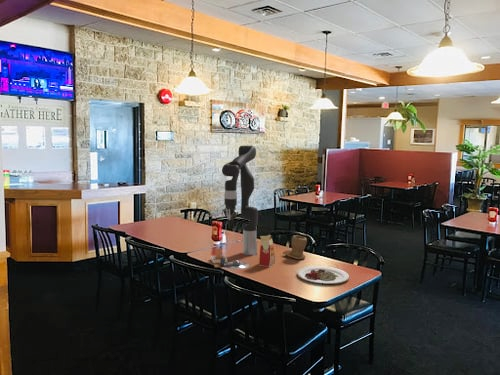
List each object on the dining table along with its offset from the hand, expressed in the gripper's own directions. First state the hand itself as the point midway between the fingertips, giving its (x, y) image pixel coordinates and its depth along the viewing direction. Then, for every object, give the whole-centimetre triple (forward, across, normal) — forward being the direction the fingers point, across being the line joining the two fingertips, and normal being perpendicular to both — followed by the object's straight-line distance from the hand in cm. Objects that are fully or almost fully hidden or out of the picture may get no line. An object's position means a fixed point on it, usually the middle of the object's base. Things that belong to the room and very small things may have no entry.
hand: (230, 225), depth 250 cm
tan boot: (+27, -9, -50) cm, 58 cm away
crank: (+26, +2, -2) cm, 27 cm away
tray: (+27, +15, -3) cm, 31 cm away
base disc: (+27, +2, -3) cm, 27 cm away
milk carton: (+27, -9, -22) cm, 36 cm away
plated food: (+28, -46, -34) cm, 63 cm away
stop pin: (+26, +15, -3) cm, 31 cm away
